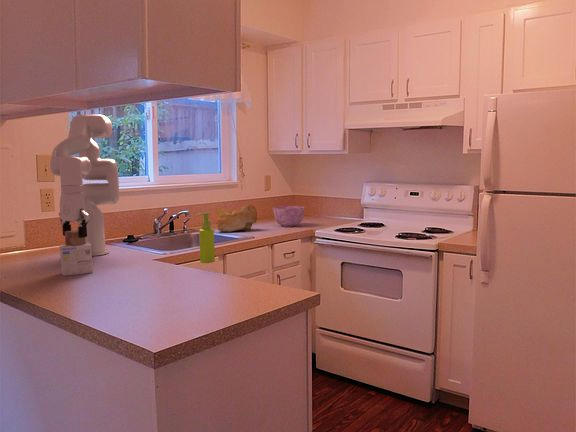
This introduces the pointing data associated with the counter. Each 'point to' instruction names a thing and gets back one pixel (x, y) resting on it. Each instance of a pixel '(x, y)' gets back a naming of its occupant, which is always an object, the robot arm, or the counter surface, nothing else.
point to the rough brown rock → (236, 219)
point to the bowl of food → (288, 215)
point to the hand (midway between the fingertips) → (75, 236)
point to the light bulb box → (76, 259)
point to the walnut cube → (74, 238)
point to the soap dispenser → (206, 241)
